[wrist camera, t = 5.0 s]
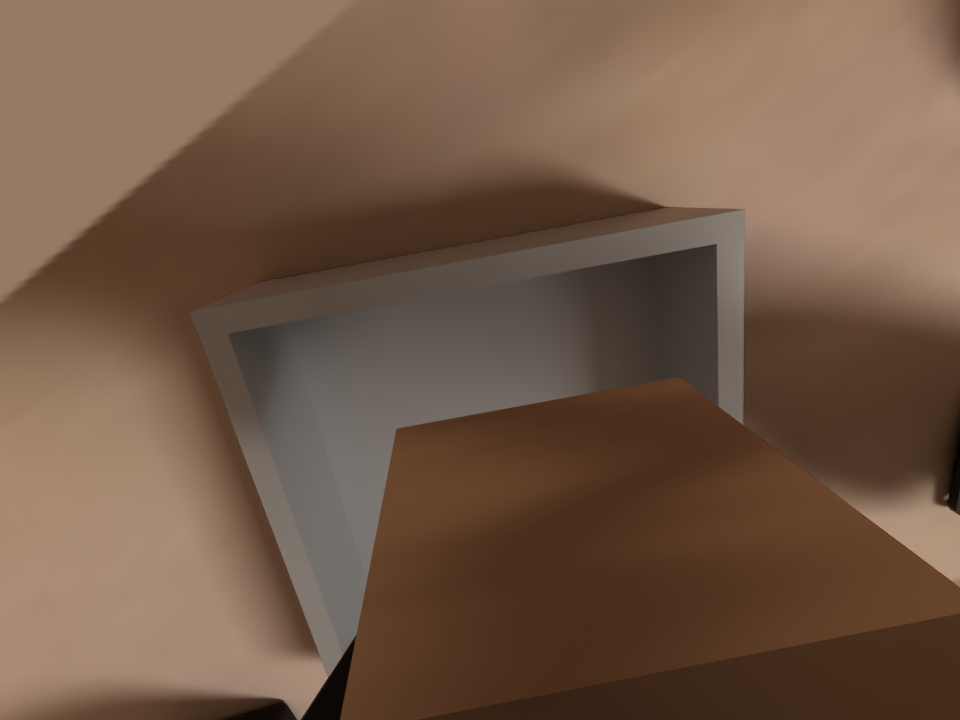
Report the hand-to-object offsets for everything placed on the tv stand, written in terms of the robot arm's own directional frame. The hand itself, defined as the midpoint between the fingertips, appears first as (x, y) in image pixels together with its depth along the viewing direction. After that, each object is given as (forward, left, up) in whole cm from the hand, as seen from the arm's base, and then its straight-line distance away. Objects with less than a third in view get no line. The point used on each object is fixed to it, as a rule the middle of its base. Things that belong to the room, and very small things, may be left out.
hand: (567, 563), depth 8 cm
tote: (+1, +5, -12) cm, 13 cm away
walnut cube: (0, 0, -1) cm, 1 cm away
